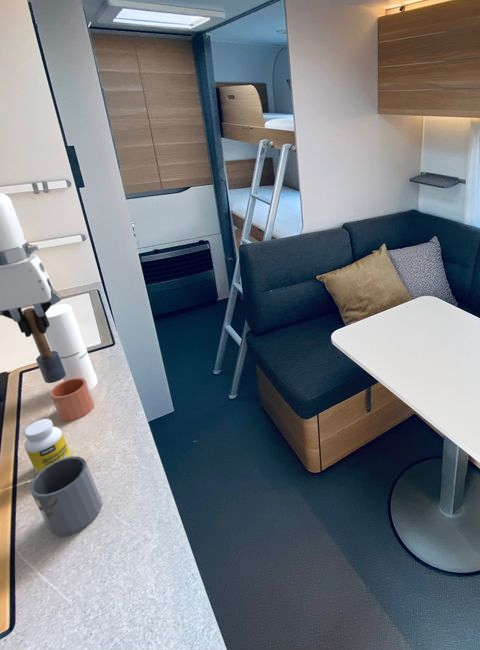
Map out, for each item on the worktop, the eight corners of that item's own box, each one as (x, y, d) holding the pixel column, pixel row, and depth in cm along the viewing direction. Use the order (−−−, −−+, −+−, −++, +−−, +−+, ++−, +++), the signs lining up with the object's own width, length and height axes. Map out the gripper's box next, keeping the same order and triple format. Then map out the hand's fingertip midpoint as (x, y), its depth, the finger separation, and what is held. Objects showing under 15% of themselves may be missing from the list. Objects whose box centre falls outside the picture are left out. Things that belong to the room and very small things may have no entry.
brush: (43, 385, 92) (14, 316, 85) (46, 375, 96) (19, 308, 89) (64, 379, 94) (38, 311, 87) (67, 370, 97) (41, 303, 90)
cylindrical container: (64, 389, 116) (33, 312, 106) (91, 375, 121) (64, 301, 111) (74, 399, 112) (43, 320, 102) (102, 384, 117) (75, 308, 108)
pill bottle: (41, 484, 88) (21, 444, 83) (34, 467, 92) (15, 428, 87) (76, 465, 92) (59, 425, 88) (68, 449, 96) (52, 411, 92)
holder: (57, 426, 103) (47, 401, 100) (63, 407, 109) (53, 383, 106) (93, 416, 106) (83, 391, 103) (96, 398, 112) (87, 374, 109)
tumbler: (45, 545, 76) (24, 504, 72) (54, 506, 83) (36, 467, 79) (99, 523, 79) (82, 484, 75) (104, 488, 86) (88, 449, 82)
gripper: (57, 242, 89) (82, 315, 97) (-39, 256, 83) (-4, 334, 90) (51, 253, 83) (78, 330, 90) (-53, 269, 76) (-15, 351, 84)
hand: (37, 331), depth 90 cm, fingers closed on brush, 2 cm apart
